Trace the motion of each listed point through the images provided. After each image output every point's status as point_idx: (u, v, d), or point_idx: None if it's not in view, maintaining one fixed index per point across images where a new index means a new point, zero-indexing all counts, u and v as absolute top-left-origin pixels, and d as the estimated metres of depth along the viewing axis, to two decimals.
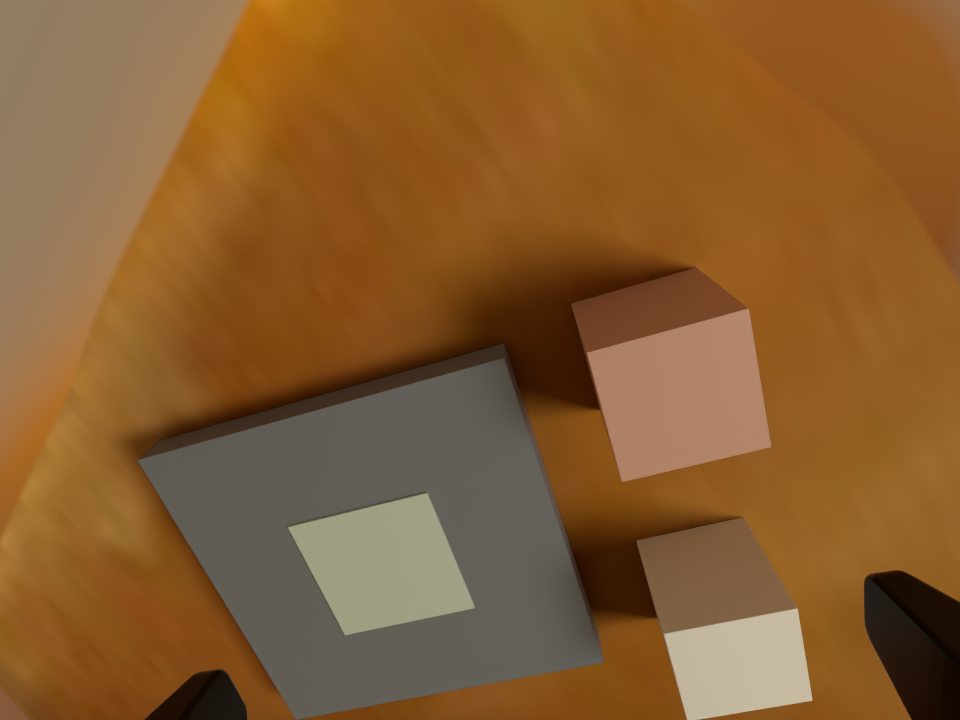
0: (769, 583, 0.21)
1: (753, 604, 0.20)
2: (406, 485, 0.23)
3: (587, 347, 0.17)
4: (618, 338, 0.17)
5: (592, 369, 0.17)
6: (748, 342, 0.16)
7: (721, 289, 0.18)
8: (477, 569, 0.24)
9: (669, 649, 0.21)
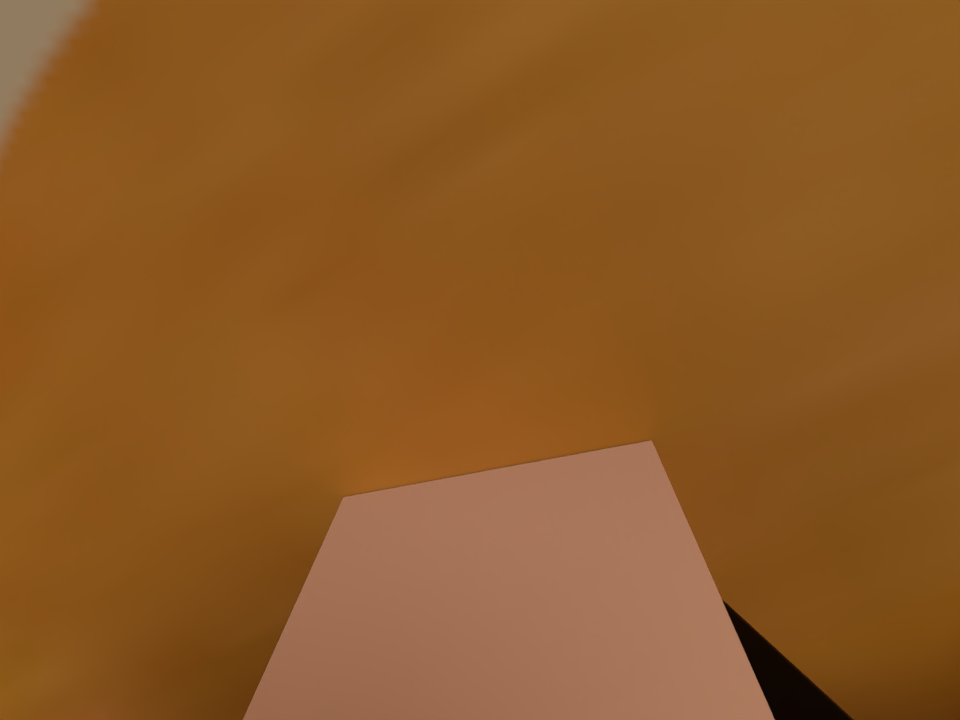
0: None
1: None
2: None
3: None
4: None
5: None
6: None
7: (267, 673, 0.06)
8: None
9: None
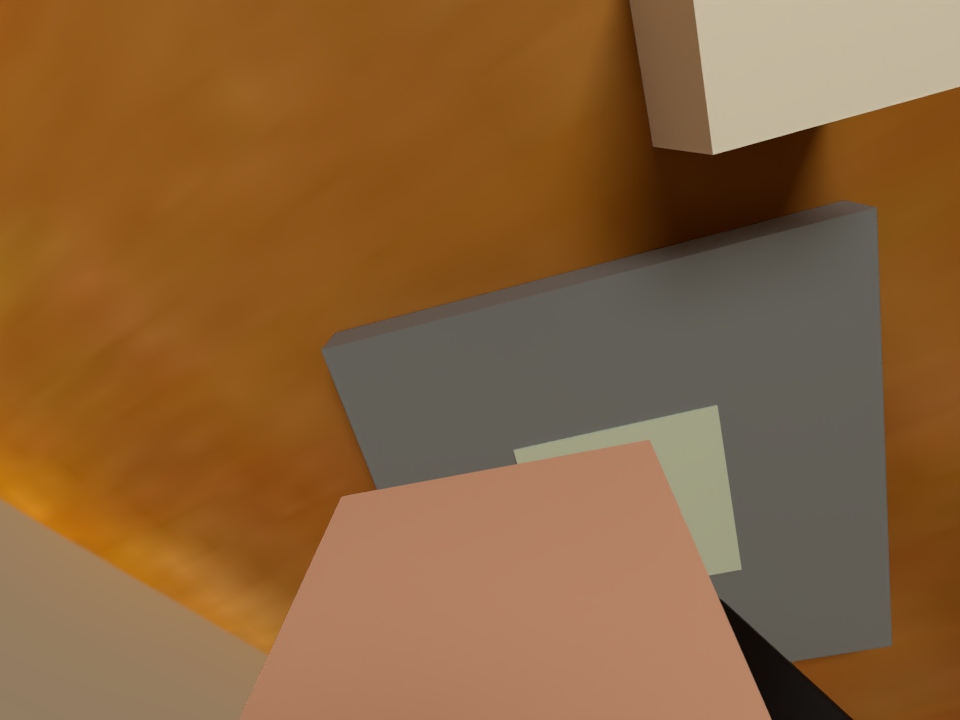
0: None
1: None
2: None
3: None
4: None
5: None
6: None
7: (264, 672, 0.06)
8: (647, 397, 0.17)
9: (753, 140, 0.11)
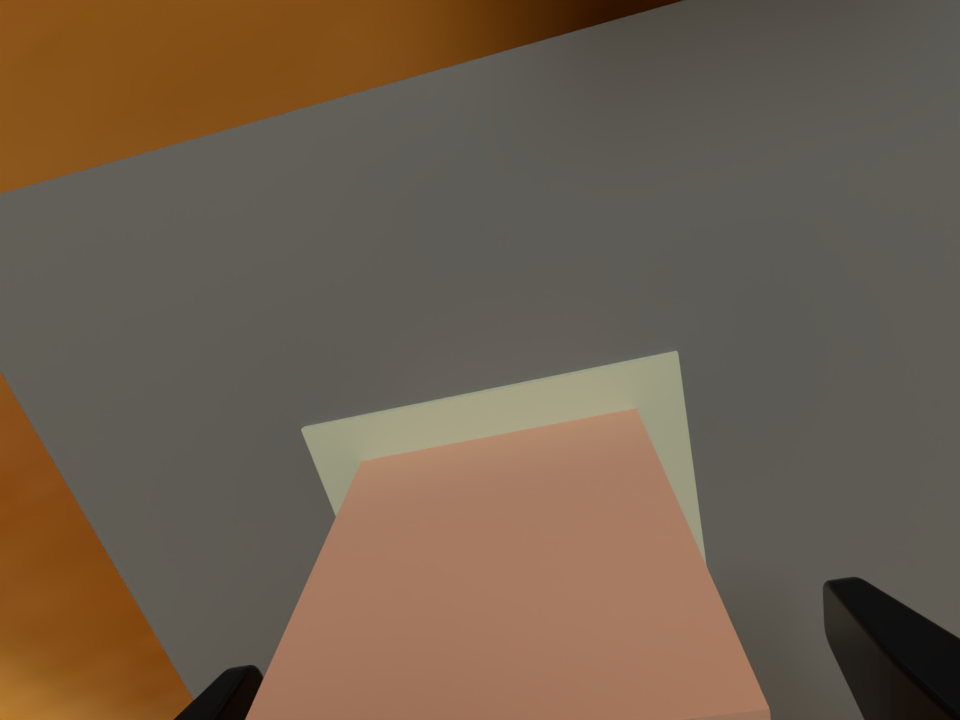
0: None
1: None
2: (289, 467, 0.10)
3: None
4: None
5: None
6: None
7: (303, 598, 0.07)
8: (544, 332, 0.09)
9: None
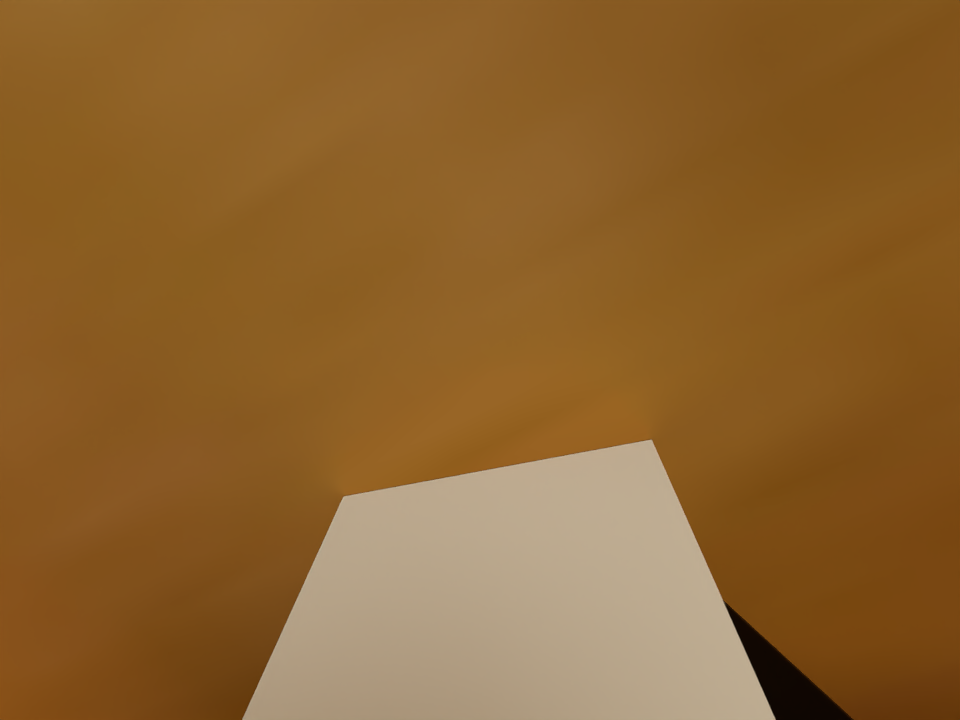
0: None
1: None
2: None
3: None
4: None
5: None
6: None
7: None
8: None
9: None
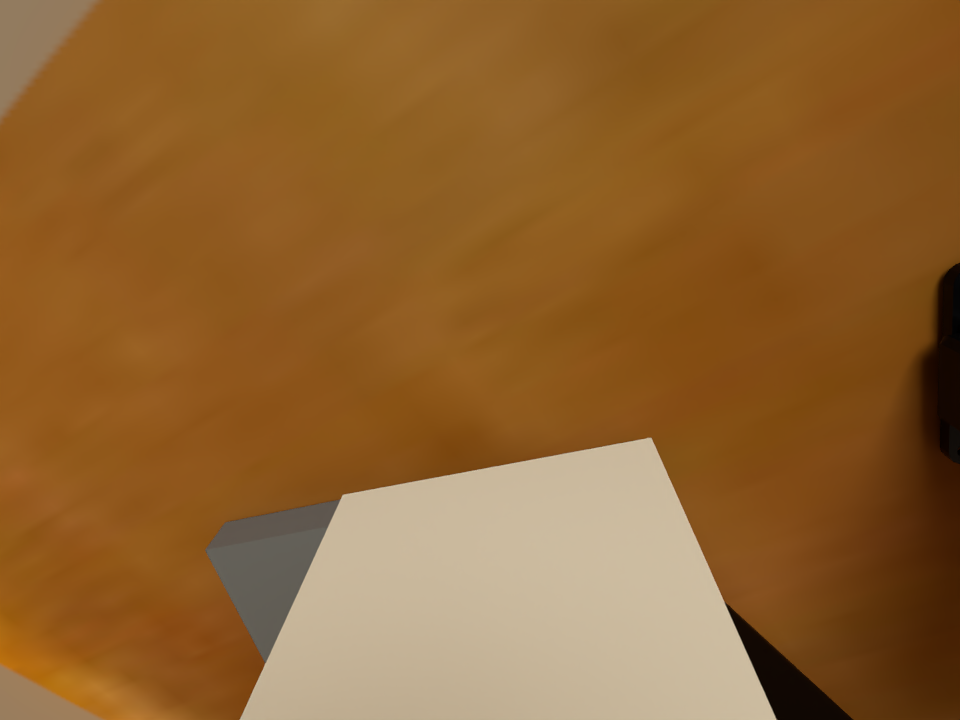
0: None
1: None
2: None
3: None
4: None
5: None
6: None
7: None
8: None
9: None
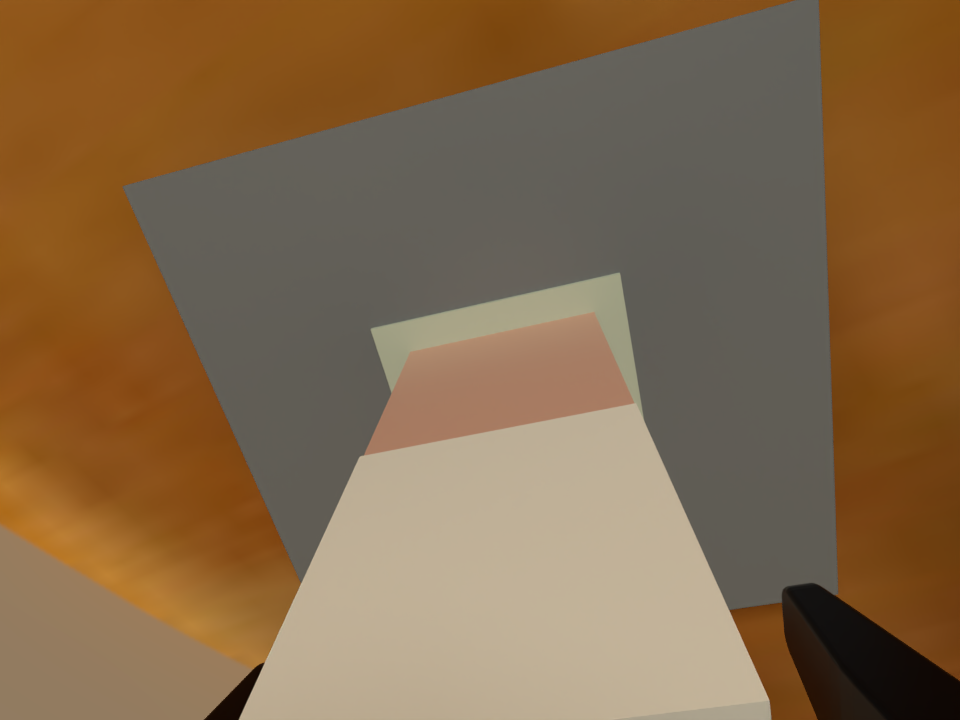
0: None
1: None
2: (361, 357, 0.14)
3: None
4: None
5: None
6: None
7: (387, 407, 0.12)
8: (533, 260, 0.13)
9: None
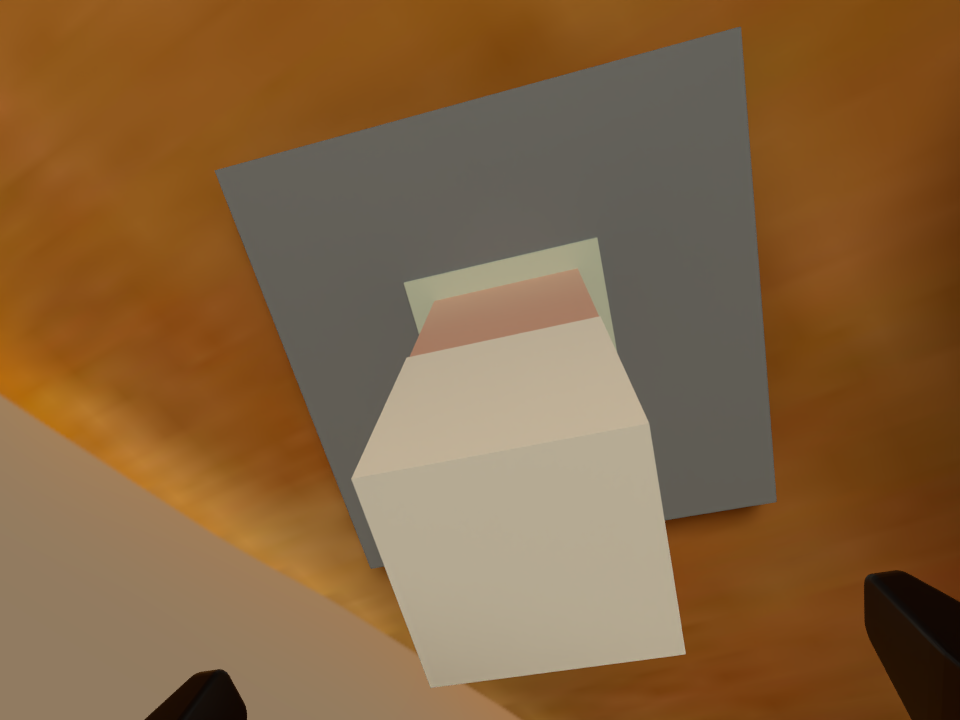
0: None
1: None
2: (395, 306, 0.18)
3: None
4: None
5: None
6: None
7: None
8: (530, 228, 0.17)
9: (471, 680, 0.10)
